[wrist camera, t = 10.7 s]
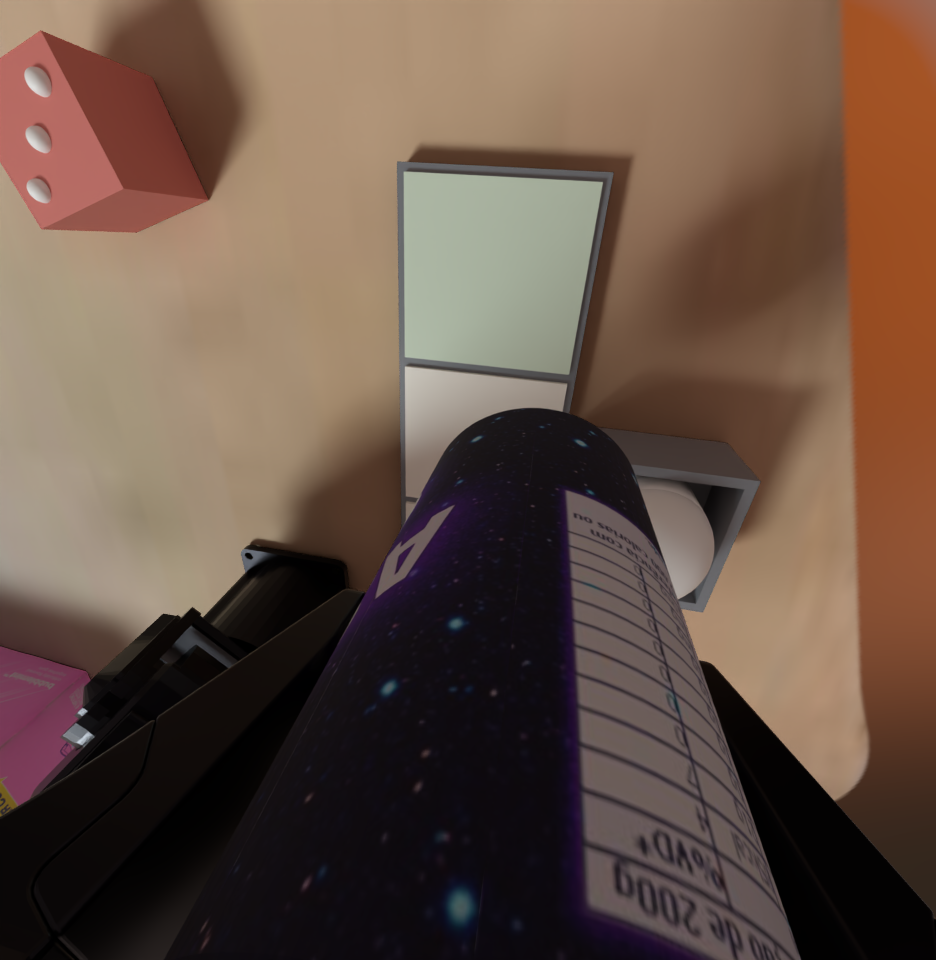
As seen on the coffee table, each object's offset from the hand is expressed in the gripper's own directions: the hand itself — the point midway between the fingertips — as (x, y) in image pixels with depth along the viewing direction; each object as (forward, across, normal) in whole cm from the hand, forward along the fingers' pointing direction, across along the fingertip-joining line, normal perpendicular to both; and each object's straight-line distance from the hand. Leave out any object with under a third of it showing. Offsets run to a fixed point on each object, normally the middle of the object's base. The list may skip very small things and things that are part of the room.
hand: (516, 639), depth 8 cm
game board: (+13, +2, +2) cm, 13 cm away
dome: (+12, -5, +4) cm, 13 cm away
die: (+13, +17, -8) cm, 23 cm away
